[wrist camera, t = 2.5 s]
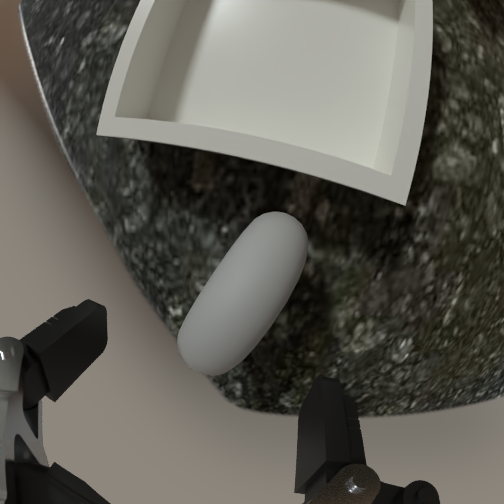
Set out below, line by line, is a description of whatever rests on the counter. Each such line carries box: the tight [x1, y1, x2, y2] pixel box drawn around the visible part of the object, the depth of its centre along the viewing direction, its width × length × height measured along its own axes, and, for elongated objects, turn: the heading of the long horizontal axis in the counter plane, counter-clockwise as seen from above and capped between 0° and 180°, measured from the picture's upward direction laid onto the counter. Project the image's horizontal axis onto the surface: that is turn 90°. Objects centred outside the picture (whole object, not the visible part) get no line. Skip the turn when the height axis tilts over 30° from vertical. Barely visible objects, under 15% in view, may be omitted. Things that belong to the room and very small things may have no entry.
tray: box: [96, 0, 433, 205], centre depth 13 cm, size 18×18×5 cm
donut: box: [177, 212, 309, 376], centre depth 15 cm, size 10×4×10 cm, turn 148°
